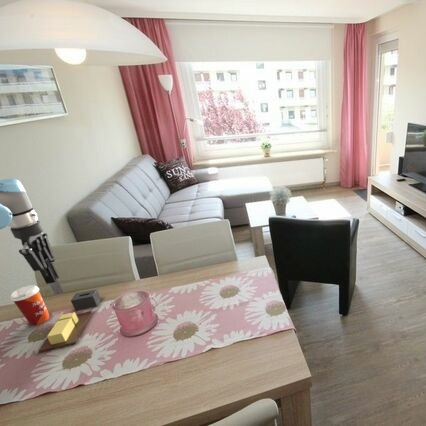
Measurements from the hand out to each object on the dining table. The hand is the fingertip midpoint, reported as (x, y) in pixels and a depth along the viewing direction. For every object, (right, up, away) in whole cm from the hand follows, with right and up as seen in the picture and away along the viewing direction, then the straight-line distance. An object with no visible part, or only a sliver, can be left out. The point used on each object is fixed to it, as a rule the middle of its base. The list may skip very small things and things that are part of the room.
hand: (52, 280), depth 109 cm
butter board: (+2, -21, +4) cm, 21 cm away
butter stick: (+3, -21, +1) cm, 21 cm away
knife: (0, -5, +2) cm, 6 cm away
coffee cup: (-15, -19, +11) cm, 26 cm away
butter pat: (+1, -19, +7) cm, 20 cm away
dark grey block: (-1, -15, +18) cm, 23 cm away
